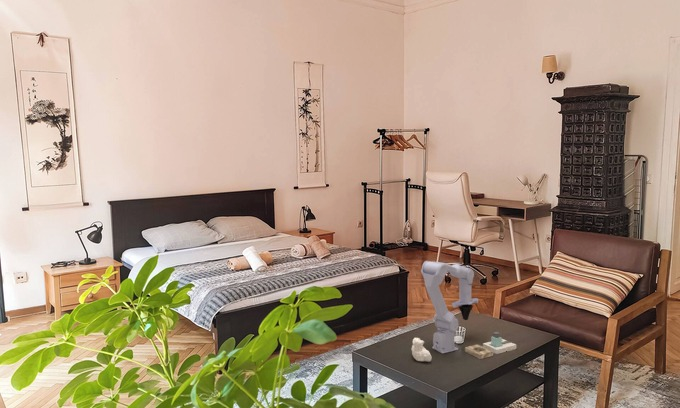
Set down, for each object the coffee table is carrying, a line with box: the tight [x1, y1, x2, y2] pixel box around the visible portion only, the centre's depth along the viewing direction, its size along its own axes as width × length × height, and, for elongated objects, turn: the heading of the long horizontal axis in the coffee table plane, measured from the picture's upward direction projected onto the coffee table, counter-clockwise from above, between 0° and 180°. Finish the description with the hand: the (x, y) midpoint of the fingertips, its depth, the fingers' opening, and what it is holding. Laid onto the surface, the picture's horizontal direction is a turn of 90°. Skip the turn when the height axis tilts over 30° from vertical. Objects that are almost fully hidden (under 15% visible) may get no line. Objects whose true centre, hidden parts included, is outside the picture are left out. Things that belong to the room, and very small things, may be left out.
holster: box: [464, 343, 494, 360], centre depth 238 cm, size 8×10×2 cm
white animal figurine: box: [410, 337, 432, 363], centre depth 232 cm, size 12×8×11 cm
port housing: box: [482, 338, 517, 355], centre depth 244 cm, size 12×9×2 cm
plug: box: [490, 331, 503, 348], centre depth 242 cm, size 3×3×8 cm
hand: (465, 319), depth 254 cm, fingers closed
